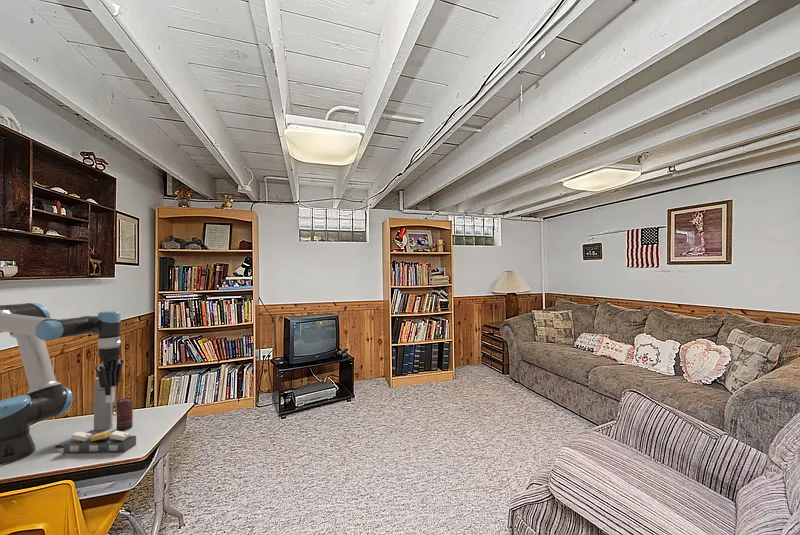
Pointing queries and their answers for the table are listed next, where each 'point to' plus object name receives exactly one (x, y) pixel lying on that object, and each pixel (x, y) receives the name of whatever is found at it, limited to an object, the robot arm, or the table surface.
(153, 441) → the table surface
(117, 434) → the rocker
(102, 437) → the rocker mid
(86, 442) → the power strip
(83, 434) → the rocker
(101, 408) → the water bottle
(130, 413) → the can
